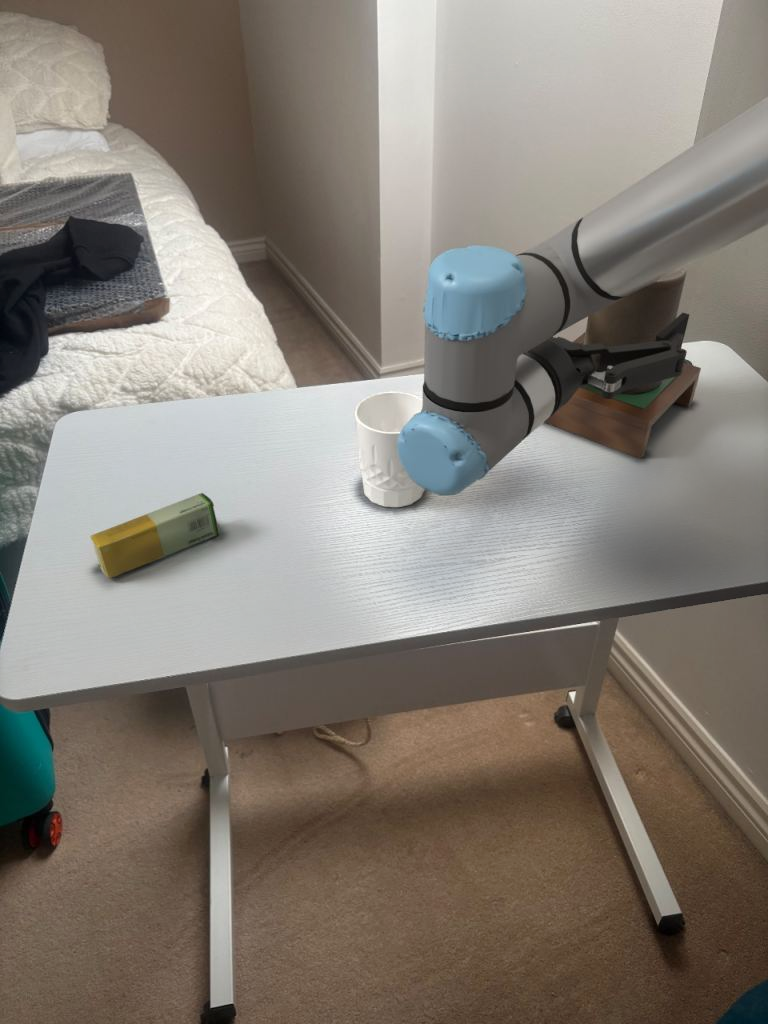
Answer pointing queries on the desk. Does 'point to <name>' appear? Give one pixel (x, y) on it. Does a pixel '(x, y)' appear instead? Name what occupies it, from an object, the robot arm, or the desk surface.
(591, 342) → the pillar candle
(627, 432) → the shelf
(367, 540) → the desk surface
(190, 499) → the medication box
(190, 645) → the desk surface
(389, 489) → the white cup
